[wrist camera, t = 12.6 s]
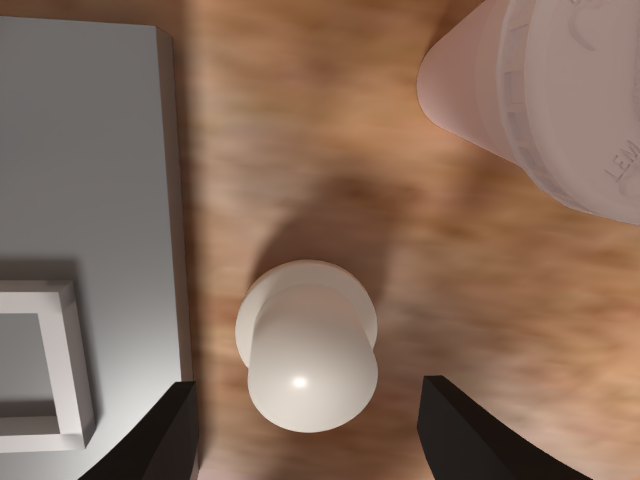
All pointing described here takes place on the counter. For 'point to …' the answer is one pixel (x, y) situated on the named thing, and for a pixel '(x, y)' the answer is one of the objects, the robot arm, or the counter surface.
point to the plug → (308, 345)
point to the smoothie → (547, 95)
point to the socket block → (87, 241)
